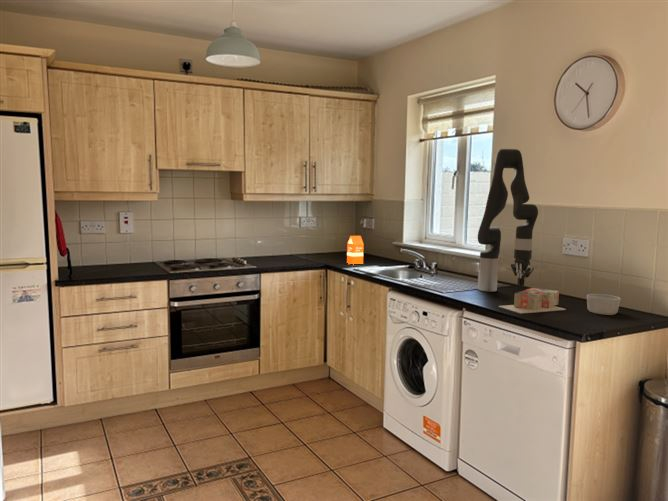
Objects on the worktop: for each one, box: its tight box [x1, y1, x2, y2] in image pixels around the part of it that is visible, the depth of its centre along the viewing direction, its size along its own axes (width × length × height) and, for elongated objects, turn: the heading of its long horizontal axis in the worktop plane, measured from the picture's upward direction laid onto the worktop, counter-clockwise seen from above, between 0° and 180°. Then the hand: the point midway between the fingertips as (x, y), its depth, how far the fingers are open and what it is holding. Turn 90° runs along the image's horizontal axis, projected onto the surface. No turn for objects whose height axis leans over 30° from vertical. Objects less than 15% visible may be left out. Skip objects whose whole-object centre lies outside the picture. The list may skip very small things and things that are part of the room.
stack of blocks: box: [513, 287, 560, 310], centre depth 238 cm, size 21×6×12 cm
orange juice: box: [346, 235, 365, 266], centre depth 370 cm, size 8×9×20 cm
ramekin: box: [586, 293, 622, 316], centre depth 229 cm, size 13×13×7 cm
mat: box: [498, 304, 567, 314], centre depth 234 cm, size 14×25×1 cm, turn 111°
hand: (520, 286), depth 241 cm, fingers closed
